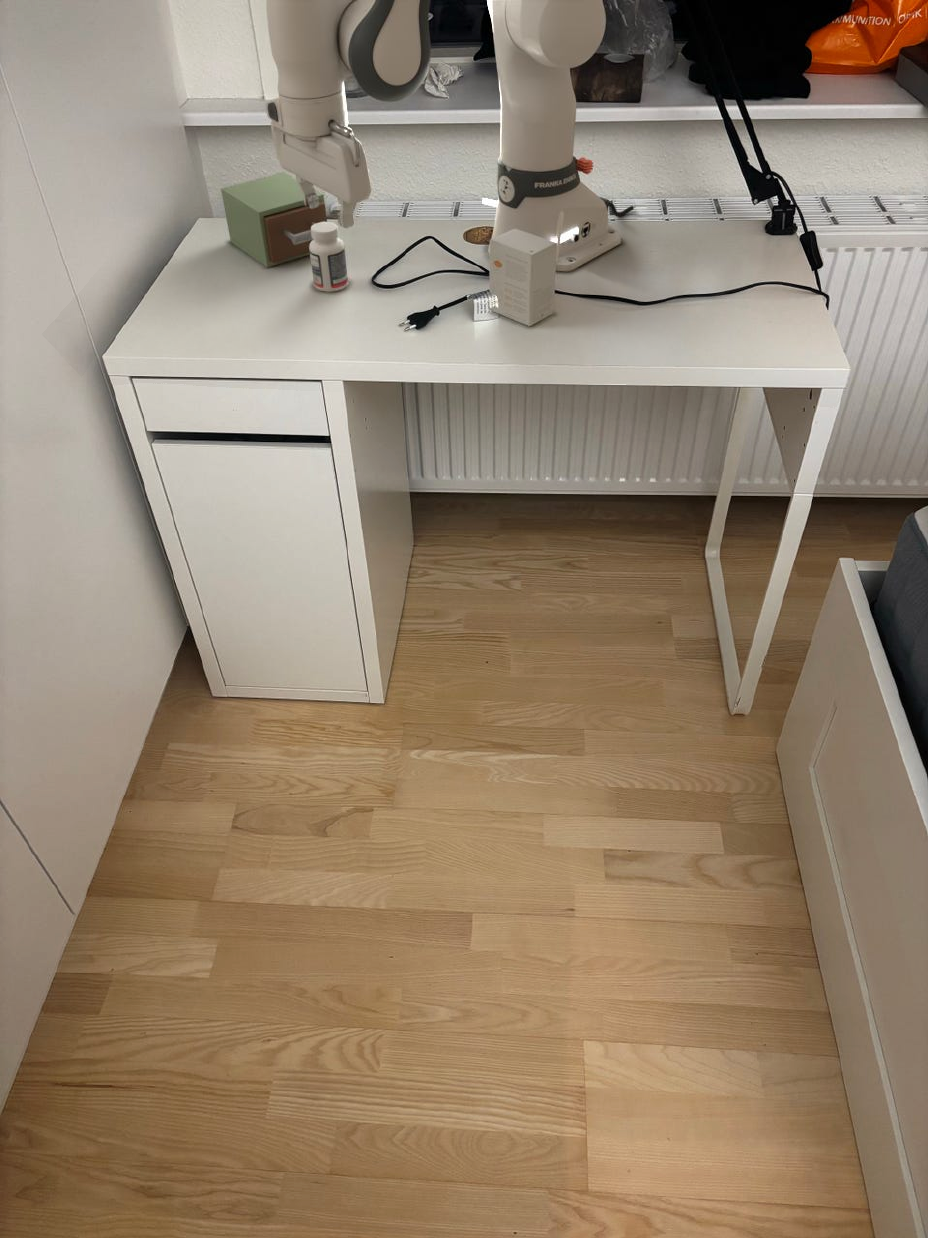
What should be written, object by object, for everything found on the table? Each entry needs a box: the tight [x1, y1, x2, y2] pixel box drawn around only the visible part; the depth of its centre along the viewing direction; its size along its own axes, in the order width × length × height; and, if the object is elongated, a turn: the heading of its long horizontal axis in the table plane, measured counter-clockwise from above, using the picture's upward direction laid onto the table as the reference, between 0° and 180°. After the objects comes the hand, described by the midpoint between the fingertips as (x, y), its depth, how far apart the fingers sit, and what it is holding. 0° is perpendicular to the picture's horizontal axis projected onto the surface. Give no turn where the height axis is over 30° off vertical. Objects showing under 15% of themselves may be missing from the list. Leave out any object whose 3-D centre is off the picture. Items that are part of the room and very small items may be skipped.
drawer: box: [263, 202, 328, 263], centre depth 147 cm, size 16×10×7 cm, turn 38°
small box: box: [488, 229, 557, 327], centre depth 131 cm, size 8×6×10 cm
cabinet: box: [220, 171, 326, 268], centre depth 149 cm, size 13×12×9 cm
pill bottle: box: [309, 221, 349, 293], centre depth 138 cm, size 5×5×9 cm
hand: (329, 215), depth 134 cm, fingers open, 8 cm apart
